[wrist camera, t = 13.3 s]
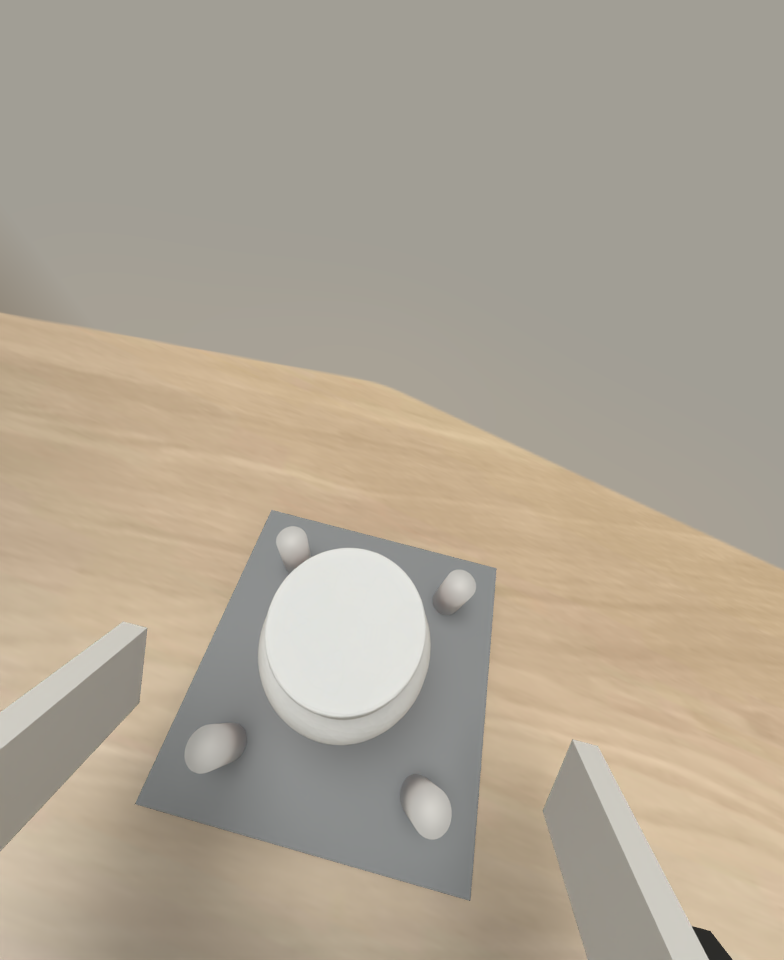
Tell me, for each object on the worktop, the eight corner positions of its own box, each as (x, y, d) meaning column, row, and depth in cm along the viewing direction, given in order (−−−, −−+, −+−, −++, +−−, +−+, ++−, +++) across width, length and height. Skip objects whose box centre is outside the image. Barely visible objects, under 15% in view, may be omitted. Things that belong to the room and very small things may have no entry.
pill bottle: (359, 584, 22) (370, 491, 13) (426, 675, 20) (497, 641, 11) (265, 653, 20) (195, 600, 11) (330, 765, 18) (313, 822, 8)
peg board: (147, 798, 17) (88, 823, 13) (274, 518, 25) (261, 481, 21) (462, 889, 17) (499, 943, 13) (490, 574, 25) (517, 548, 21)
